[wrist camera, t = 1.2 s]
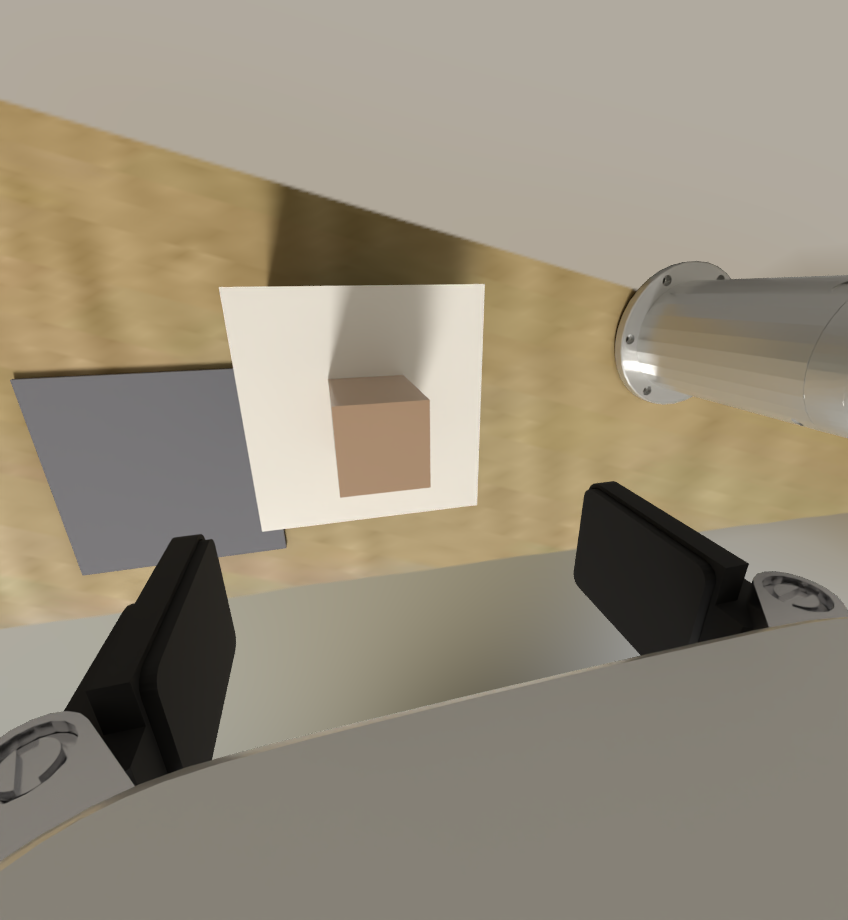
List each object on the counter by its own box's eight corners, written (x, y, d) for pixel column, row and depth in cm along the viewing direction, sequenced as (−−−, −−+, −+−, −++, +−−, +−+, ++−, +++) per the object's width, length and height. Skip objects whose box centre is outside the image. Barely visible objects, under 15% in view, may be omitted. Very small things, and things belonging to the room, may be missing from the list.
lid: (470, 284, 24) (538, 280, 17) (465, 490, 29) (517, 557, 22) (227, 287, 22) (181, 284, 14) (266, 513, 26) (246, 600, 19)
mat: (258, 366, 33) (258, 367, 32) (286, 545, 38) (286, 548, 38) (13, 378, 29) (9, 379, 29) (85, 572, 35) (82, 575, 35)
